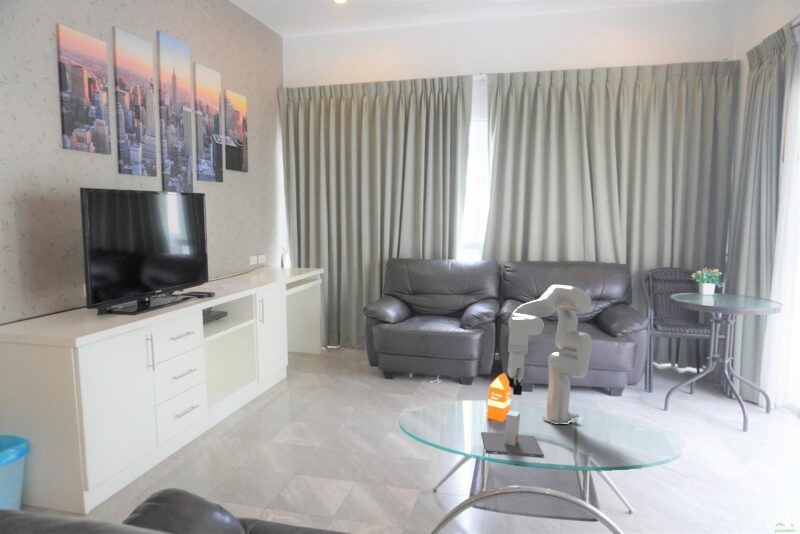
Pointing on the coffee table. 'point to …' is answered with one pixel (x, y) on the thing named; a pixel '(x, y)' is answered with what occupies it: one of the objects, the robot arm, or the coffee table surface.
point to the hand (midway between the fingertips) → (515, 390)
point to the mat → (523, 445)
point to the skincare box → (512, 428)
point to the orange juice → (499, 398)
